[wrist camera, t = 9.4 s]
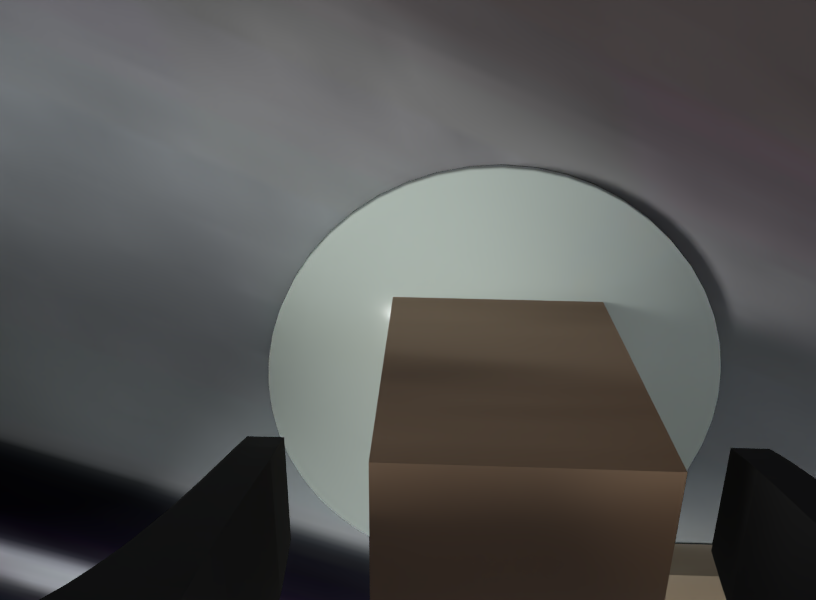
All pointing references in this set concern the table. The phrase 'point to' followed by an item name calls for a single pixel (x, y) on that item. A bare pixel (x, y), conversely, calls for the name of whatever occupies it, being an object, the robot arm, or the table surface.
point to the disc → (478, 279)
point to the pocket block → (693, 574)
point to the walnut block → (517, 458)
